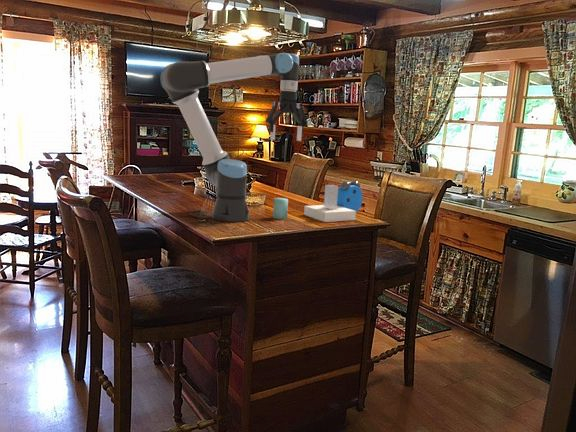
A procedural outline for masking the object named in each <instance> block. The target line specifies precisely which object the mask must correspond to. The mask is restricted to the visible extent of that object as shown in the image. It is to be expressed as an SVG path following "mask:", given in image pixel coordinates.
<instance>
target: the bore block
mask: <svg viewBox="0 0 576 432" xmlns="http://www.w3.org/2000/svg"><path fill="white" fill-rule="evenodd" d="M303 211H304V212H303V215H304V216H306V217H310V218H312V219H315V220H317V221H321V222H323V223H330V222H331V223H332V222H334V223H335V222H345V221H346V222H348V221H356V218H357V217H356V215H357V212H356V211H354V210H351V209H348V208H344V207H341V206H338V205H337V209H335V210H327V209H324V204H316V205H304V210H303Z"/></svg>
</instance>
